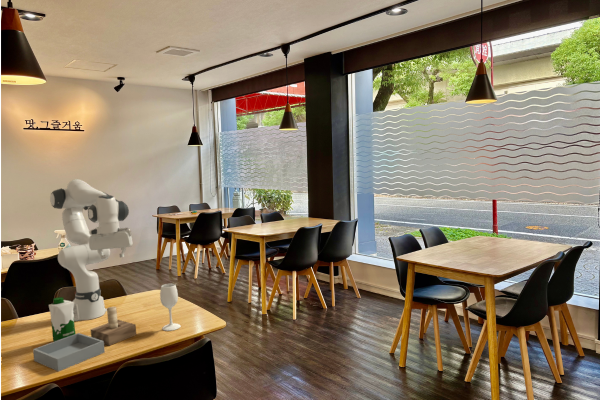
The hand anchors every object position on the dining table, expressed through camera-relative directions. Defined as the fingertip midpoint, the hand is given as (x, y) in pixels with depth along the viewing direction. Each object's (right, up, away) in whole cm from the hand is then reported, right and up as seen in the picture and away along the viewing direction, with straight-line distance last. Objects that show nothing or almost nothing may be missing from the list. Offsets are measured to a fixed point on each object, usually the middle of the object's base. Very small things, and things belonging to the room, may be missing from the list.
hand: (112, 258), depth 210 cm
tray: (-8, -39, -23) cm, 46 cm away
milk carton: (-19, -38, -6) cm, 43 cm away
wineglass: (+27, -35, +5) cm, 44 cm away
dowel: (+2, -37, -4) cm, 37 cm away
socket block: (+2, -37, -4) cm, 37 cm away
